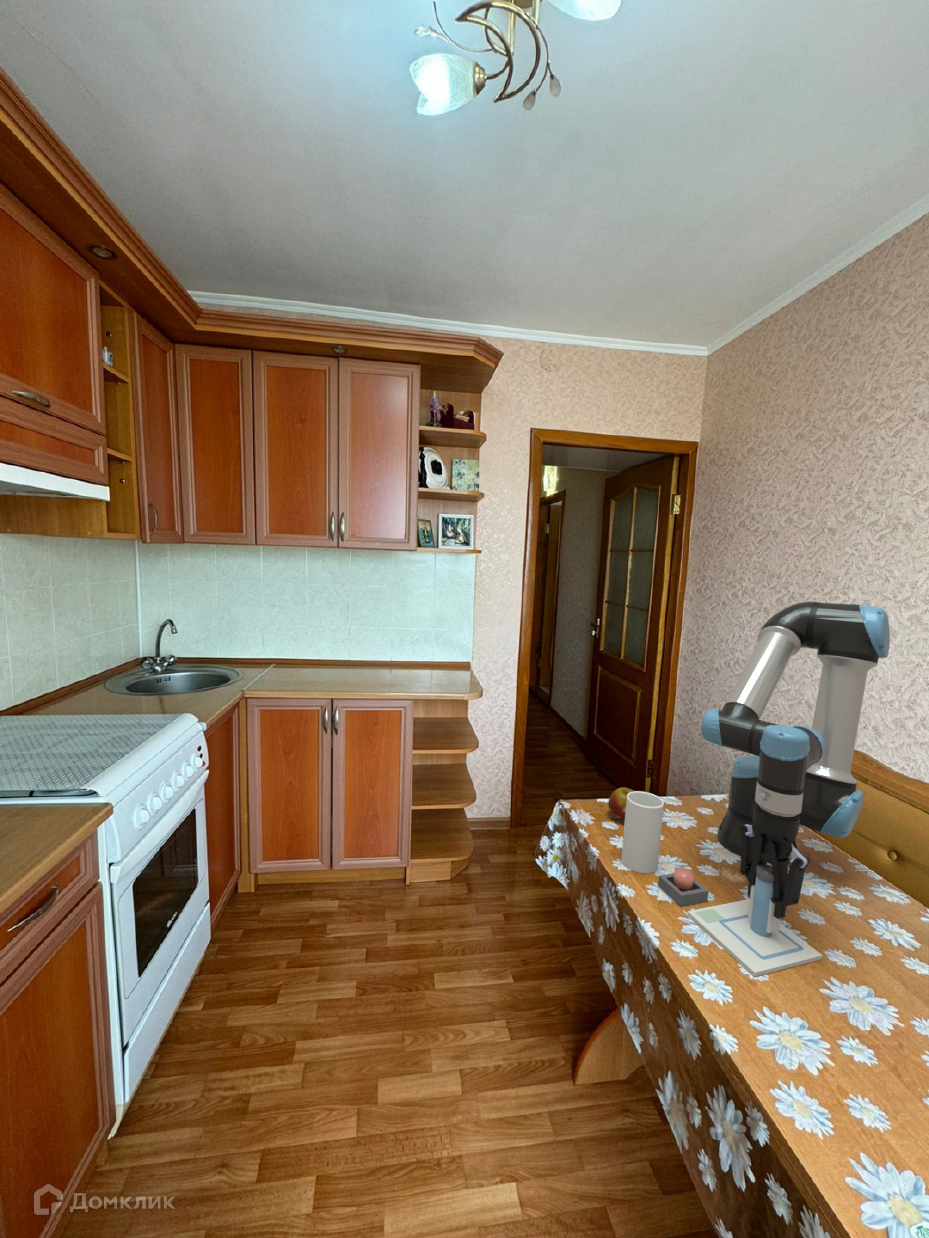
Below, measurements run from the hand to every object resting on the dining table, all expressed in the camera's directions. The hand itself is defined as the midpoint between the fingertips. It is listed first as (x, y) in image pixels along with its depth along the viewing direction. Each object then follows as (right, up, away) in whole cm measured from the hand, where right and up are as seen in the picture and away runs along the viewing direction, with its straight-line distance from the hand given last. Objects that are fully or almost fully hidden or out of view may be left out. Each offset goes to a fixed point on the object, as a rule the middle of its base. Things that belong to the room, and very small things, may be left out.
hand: (763, 922), depth 97 cm
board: (-3, -2, -1) cm, 4 cm away
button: (-11, +2, +11) cm, 16 cm away
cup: (-17, +1, +22) cm, 28 cm away
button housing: (-11, 0, +11) cm, 16 cm away
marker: (-1, -1, 0) cm, 1 cm away
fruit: (-13, +3, +44) cm, 46 cm away
